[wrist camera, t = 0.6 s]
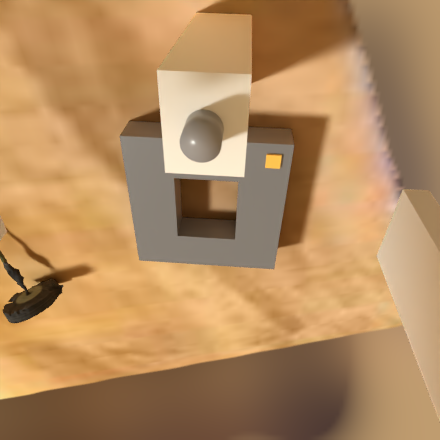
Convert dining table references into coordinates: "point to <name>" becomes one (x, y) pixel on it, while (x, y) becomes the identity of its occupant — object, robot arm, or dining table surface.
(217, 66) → the cream long rectangular block
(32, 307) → the artificial flower
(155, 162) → the socket
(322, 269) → the dining table surface
